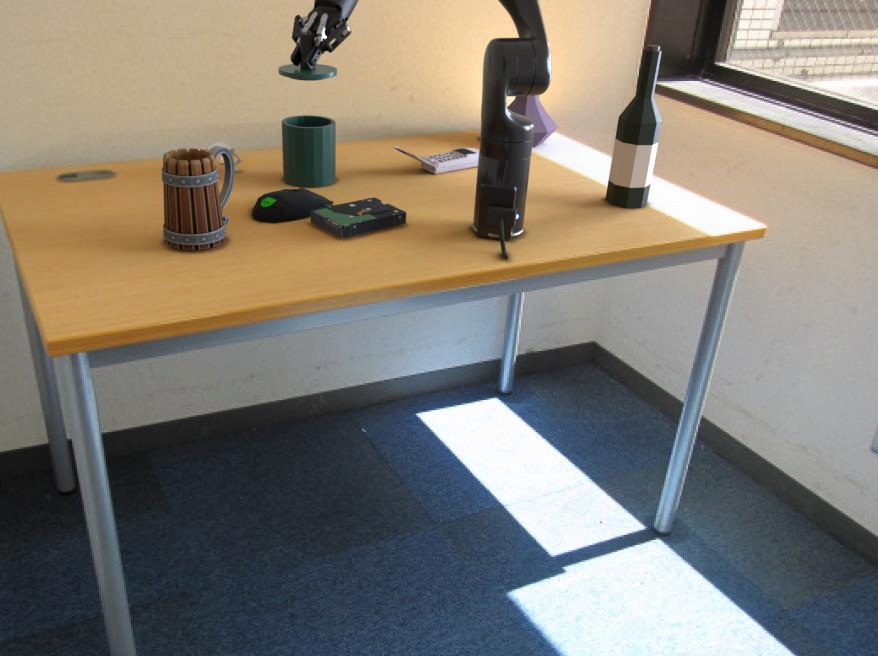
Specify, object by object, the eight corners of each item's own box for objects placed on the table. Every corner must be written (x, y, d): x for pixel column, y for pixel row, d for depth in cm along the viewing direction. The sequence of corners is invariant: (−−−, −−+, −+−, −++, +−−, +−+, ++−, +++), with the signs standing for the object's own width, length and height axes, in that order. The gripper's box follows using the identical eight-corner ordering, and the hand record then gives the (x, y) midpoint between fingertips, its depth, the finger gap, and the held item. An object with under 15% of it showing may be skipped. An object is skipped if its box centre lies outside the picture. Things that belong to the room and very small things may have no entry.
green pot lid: (326, 84, 170) (325, 39, 165) (269, 79, 172) (267, 35, 168) (344, 74, 179) (345, 31, 175) (291, 69, 182) (290, 27, 178)
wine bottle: (647, 210, 177) (677, 50, 161) (605, 206, 178) (631, 47, 163) (645, 197, 184) (674, 43, 168) (605, 193, 185) (630, 40, 170)
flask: (486, 148, 213) (494, 60, 203) (491, 132, 227) (499, 49, 217) (555, 153, 211) (566, 65, 201) (556, 137, 225) (566, 53, 215)
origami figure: (246, 176, 187) (245, 152, 184) (206, 178, 184) (204, 154, 182) (236, 160, 196) (235, 138, 194) (198, 162, 194) (196, 140, 191)
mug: (197, 257, 147) (189, 167, 139) (150, 243, 151) (141, 155, 144) (257, 231, 158) (254, 147, 150) (213, 219, 163) (207, 137, 155)
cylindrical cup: (325, 189, 181) (325, 130, 174) (275, 183, 183) (273, 124, 177) (342, 175, 190) (342, 118, 183) (294, 170, 192) (293, 113, 186)
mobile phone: (392, 145, 189) (481, 131, 202) (391, 173, 192) (479, 157, 205) (408, 153, 185) (498, 138, 198) (407, 180, 188) (496, 164, 201)
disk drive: (373, 210, 171) (309, 223, 163) (373, 196, 169) (309, 208, 161) (407, 226, 164) (341, 240, 156) (407, 211, 163) (342, 225, 154)
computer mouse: (235, 212, 167) (233, 191, 165) (300, 194, 177) (300, 174, 175) (274, 227, 160) (273, 206, 158) (339, 208, 171) (340, 187, 169)
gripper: (305, -26, 175) (264, 47, 173) (360, -19, 168) (318, 56, 166) (323, 2, 182) (284, 72, 180) (376, 9, 175) (337, 82, 172)
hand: (301, 64), depth 173 cm, fingers closed on green pot lid, 3 cm apart
